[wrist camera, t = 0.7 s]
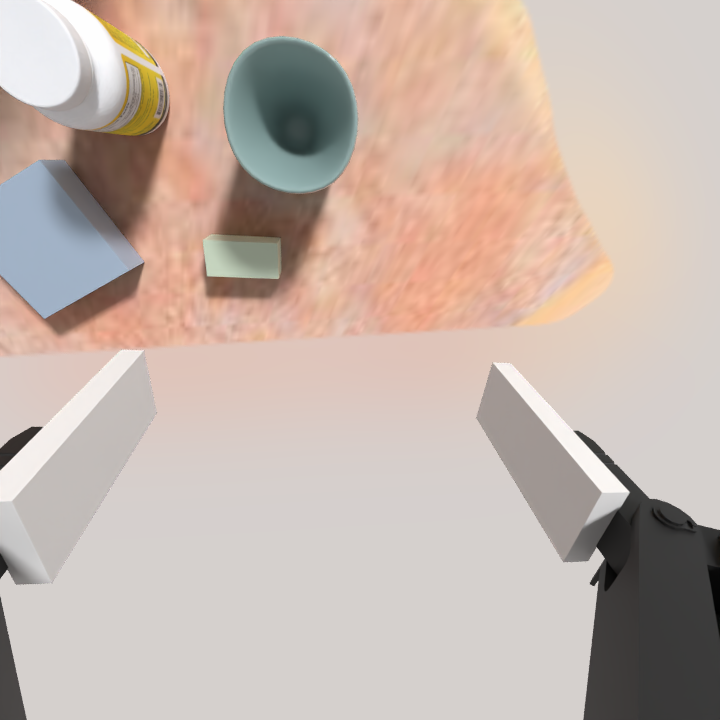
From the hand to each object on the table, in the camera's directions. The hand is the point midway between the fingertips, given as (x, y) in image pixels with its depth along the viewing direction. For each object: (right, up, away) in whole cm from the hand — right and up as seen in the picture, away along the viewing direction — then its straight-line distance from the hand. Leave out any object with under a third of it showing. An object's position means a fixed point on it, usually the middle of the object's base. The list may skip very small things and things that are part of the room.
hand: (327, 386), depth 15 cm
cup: (-4, +19, +16) cm, 25 cm away
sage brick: (-9, +11, +20) cm, 24 cm away
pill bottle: (-16, +21, +14) cm, 30 cm away
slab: (-24, +11, +18) cm, 32 cm away
